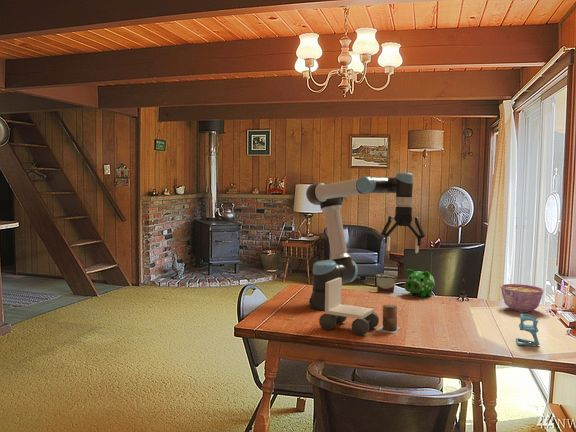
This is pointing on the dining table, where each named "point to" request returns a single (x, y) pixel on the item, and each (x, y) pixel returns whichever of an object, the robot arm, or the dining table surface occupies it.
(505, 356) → the dining table surface
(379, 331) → the pad
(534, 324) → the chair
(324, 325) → the trolley
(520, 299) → the bowl of food
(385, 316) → the cylindrical block
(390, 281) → the food container
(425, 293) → the piggy bank
